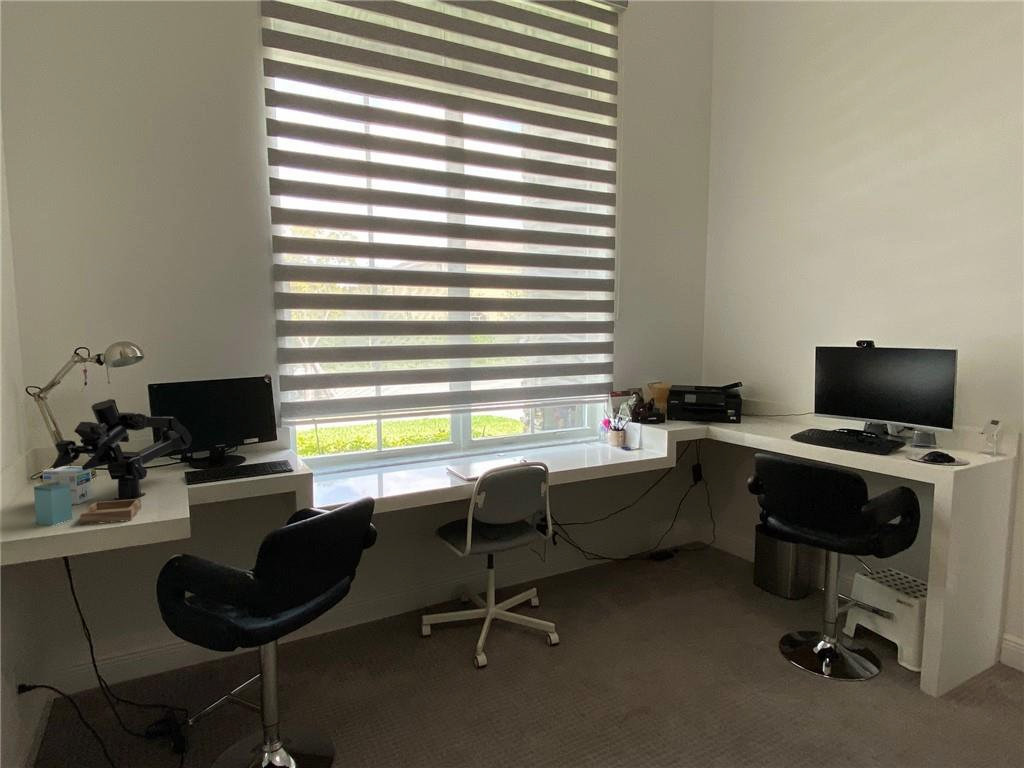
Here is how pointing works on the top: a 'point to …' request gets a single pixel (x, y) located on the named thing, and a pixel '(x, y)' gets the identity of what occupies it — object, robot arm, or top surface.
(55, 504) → the light blue block
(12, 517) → the top surface
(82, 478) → the light bulb box
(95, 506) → the tray
